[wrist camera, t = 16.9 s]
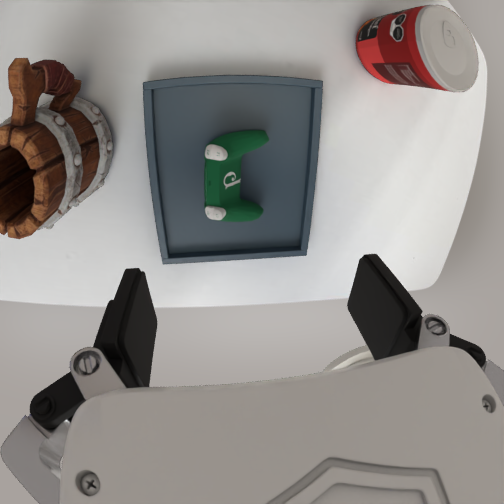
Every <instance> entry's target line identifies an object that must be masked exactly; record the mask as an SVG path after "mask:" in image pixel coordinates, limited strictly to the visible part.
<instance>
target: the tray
mask: <svg viewBox="0 0 504 504" xmlns="http://www.w3.org/2000/svg"><path fill="white" fill-rule="evenodd" d="M322 87H323V81H320V80H311V79H302V78H292V77H279V76H258V75H217V76H196V77H183V78H173V79H164V80H156V81H148V82H143V101H144V121H145V135H146V147H147V158H148V168H149V177H150V186H151V194H152V201H153V208H154V215H155V222H156V228H157V234H158V240H159V246H160V252H161V257H162V262H163V264H179V263H196V262H213V261H229V260H245V259H261V258H276V257H291V256H306V255H307V249H308V242H309V234H310V226H311V218H312V210H313V201H314V192H315V182H316V172H317V162H318V150H319V138H320V124H321V109H322V90H323V89H322ZM246 130H263V131H265V132H266V133H267V135H268V137H269V141H268V142H267V143H266V144H264V145H263V146H261V147H260V148H257V149H255V150H253V151H250V152H248V153H245V154H243V155H242V160H241V181H240V198H241V199H244V200H247V201H251V202H254V203H256V204H258V205H260V206H261V207H262V208H263V210H264V211H263V214H262V215H261V216H260V217H259V218H258V219H256V220H253V221H247V222H225V221H215V220H212V219H209V218H208V217H207V215H206V213H205V208H204V202H205V196H204V168H205V161H206V160H204V152H205V147H206V145H207V144H208V143H210V142H211V141H212V140H214V139H215V138H217V137H220V136H222V135H224V134H228V133H232V132H238V131H246Z"/></svg>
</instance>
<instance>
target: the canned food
mask: <svg viewBox="0 0 504 504" xmlns="http://www.w3.org/2000/svg"><path fill="white" fill-rule="evenodd" d="M356 50H357V53H358V56H359V59H360V61H361V63H362V64H363V66H364V67H365V68H366V70H367V71H368V72H369V73H370V74H372V75H373V76H374V77H376V78H377V79H379V80H381V81H383V82H386V83H390V84H400V85H410V86H418V87H425V88H432V89H438V90H444V91H451V92H464V91H467V90H469V89H470V88H471V87H472V86H473V84H474V83H475V80H476V78H477V74H478V53H477V49H476V45H475V42H474V39H473V37H472V35H471V33H470V31H469V29H468V28H467V26H466V24H465V23H464V22H463V21H462V19H461V18H460V17H459V16H458V15H457V14H456V13H455V12H453V11H452V10H451V9H449V8H447V7H445V6H442V5H426V6H420V7H415V8H411V9H407V10H402V11H399V12H395V13H391V14H387V15H384V16H381V17H377V18H374V19H371V20H369V21H367V22H366V23H365V24H363V25H362V27H361V28H360V30H359V31H358V34H357V37H356Z"/></svg>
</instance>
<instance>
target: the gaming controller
mask: <svg viewBox="0 0 504 504" xmlns="http://www.w3.org/2000/svg"><path fill="white" fill-rule="evenodd" d="M268 141H269V137H268V135H267V133H266V132H265V131H263V130H246V131H238V132H232V133H228V134H224V135H222V136H220V137H217V138H215V139H214V140H212V141H211V142H210V143H208V144H207V145H206V147H205V152H204V160H206V161H205V168H204V196H205V202H204V208H205V213H206V215H207V217H208V218H209V219H212V220H215V221H225V222H247V221H253V220H256V219H258V218H259V217H260V216H261V215H262V214H263V211H264V210H263V208H262V207H261V206H260V205H258V204H256V203H254V202H251V201H247V200H244V199H241V198H240V181H241V160H242V155H243V154H245V153H248V152H250V151H253V150H255V149H257V148H260V147H261V146H263V145H264V144H266V143H267V142H268Z"/></svg>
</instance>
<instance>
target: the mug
mask: <svg viewBox="0 0 504 504" xmlns="http://www.w3.org/2000/svg"><path fill="white" fill-rule="evenodd" d="M8 80H9V89H10V92H11V94H12V96H13V111H12V116H11V117H9V118H8V119H6V120H5V121H4V122H3V123H2V124H0V233H1V234H3V235H5V234H6V233H7V232H8V237H10V238H16V239H21V238H24V237H27V236H30V235H32V234H33V233H34V232H35V231H36V230H40V229H43V228H47V229H51V228H52V227H53V225H54V223H55V222H57V221H58V220H59V219H60V218H61V217H62V216H63V215H64V214H65V213H67V212H68V211H69V210H70V209H71V208H72V206H74V207H76V206H78V205H79V203H80V202H82V201H83V200H85V199H86V198H87V197H88V196H90V195H91V194H92V193H93V192H95V191H96V190H97V189H98V188H99V187H102V186H103V185H104V179H105V177H106V175H107V174H108V171H109V167H110V162H111V158H112V154H113V153H112V148H113V143H112V138H111V132H110V130H109V127H108V125H107V122H106V120H105V117H104V116H103V115H102V114H101V112H100V111H99V108H98V107H95V106H94V105H93V104H92V103H90V102H88V101H86V100H83V99H81V98H79V97H75V96H76V95H77V93H78V92H79V91H80V87H81V82H82V81H81V80H76V79H74V75H73V74H72V73H71V72H70V71H69V70H68V69H67V68H66V66H65V65H64V64H61V63H60V62H57V61H56V60H42V61H39V62H36V63H34V64H32V65H30V63H29V60H28V58H15V59H14V61H13V62H12V63H11V65H10V66H9V68H8ZM42 93H46V94H49V95H55V97H54V98H53V100H52V101H50V102H48V103H46V104H44V105H42V106H40V107H39V108H37V104H38V100H39V97H40V95H41V94H42Z"/></svg>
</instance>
